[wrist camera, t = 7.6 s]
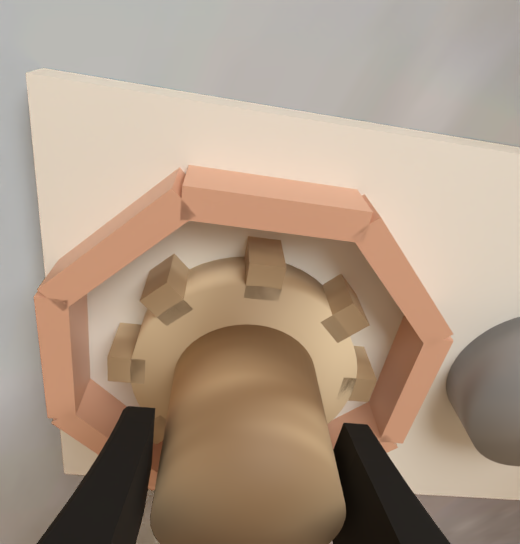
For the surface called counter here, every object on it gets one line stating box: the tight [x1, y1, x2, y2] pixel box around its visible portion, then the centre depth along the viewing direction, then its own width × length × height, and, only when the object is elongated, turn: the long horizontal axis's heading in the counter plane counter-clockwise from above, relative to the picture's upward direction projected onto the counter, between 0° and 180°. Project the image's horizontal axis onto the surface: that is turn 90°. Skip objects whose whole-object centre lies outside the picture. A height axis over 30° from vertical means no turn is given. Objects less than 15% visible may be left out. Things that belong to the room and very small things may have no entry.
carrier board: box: [26, 68, 520, 500], centre depth 14 cm, size 20×14×3 cm
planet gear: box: [107, 236, 377, 544], centre depth 11 cm, size 8×8×6 cm
